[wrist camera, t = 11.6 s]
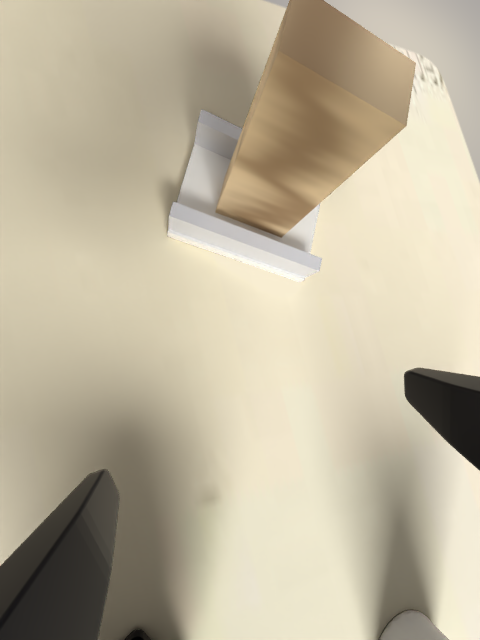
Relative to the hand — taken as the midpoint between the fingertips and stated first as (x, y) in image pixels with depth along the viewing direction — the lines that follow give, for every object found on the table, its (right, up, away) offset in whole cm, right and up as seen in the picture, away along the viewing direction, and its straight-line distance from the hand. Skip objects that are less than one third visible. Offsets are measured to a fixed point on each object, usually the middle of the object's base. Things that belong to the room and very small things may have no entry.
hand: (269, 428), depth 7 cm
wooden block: (0, +12, +12) cm, 17 cm away
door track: (0, +12, +13) cm, 18 cm away
